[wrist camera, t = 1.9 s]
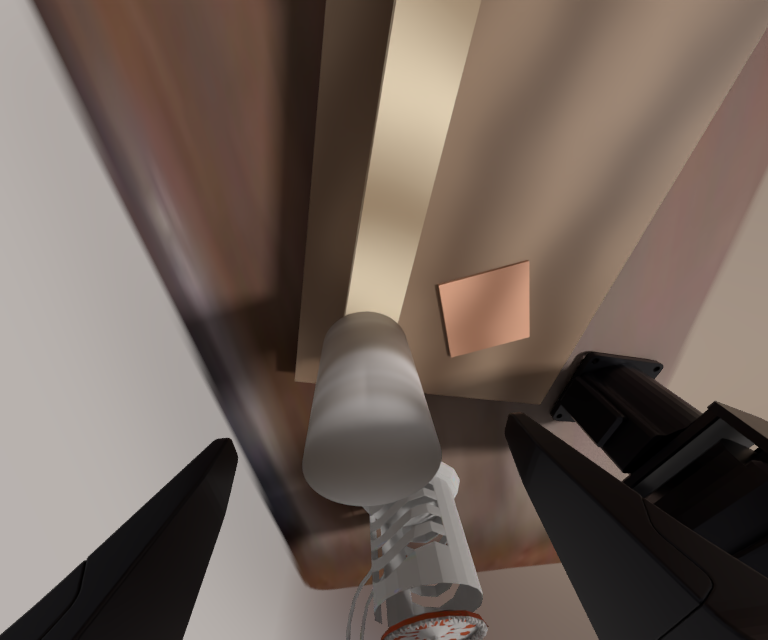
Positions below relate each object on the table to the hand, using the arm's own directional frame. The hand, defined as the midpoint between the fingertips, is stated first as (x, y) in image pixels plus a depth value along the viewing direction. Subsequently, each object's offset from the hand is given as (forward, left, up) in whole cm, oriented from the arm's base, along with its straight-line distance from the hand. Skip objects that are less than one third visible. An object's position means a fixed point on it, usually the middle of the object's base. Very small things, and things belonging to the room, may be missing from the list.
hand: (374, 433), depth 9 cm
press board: (-5, -8, -9) cm, 13 cm away
